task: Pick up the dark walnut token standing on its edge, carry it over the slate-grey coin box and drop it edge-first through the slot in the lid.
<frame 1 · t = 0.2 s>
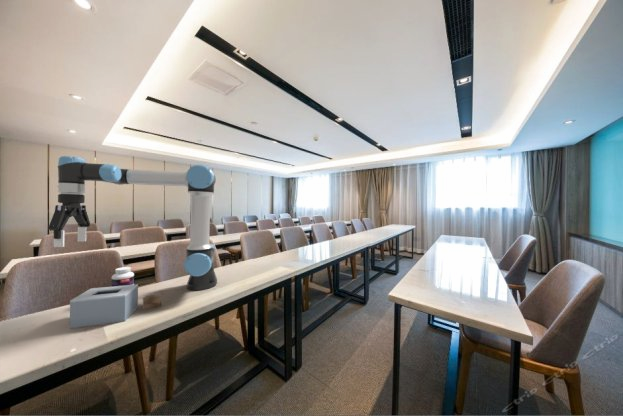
hand: (71, 244, 91), 28 cm above the table, fingers open, 13 cm apart
token: (152, 307, 94), on the table
pill bottle: (122, 299, 102), on the table
coin box: (107, 316, 85), on the table
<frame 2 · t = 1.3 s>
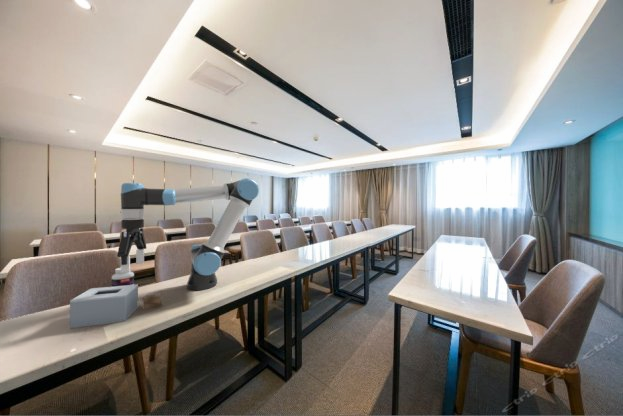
hand: (133, 267, 93), 17 cm above the table, fingers open, 13 cm apart
nothing on the table moved.
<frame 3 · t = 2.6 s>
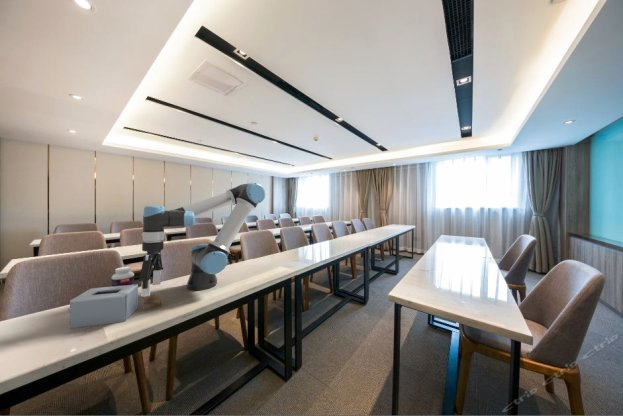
hand: (151, 289, 94), 8 cm above the table, fingers open, 13 cm apart
nothing on the table moved.
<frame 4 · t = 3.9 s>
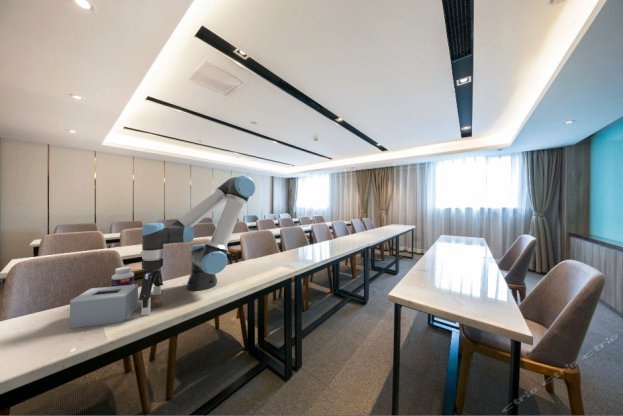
hand: (151, 307, 94), 0 cm above the table, fingers open, 13 cm apart
nothing on the table moved.
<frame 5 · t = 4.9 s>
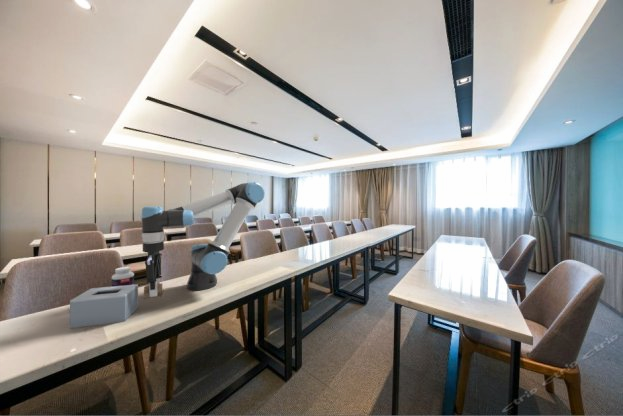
hand: (154, 294, 95), 5 cm above the table, fingers closed on token, 2 cm apart
token: (153, 296, 94), point 5 cm above the table, touching gripper
everything else where it was.
when the fingers open (11 cm above the table, at t = 6.8 s): token drops 10 cm, resting on coin box.
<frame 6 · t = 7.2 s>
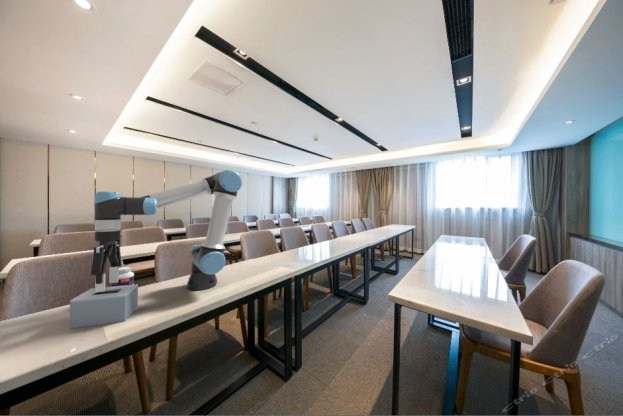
hand: (107, 286, 85), 12 cm above the table, fingers open, 9 cm apart
token: (105, 314, 85), point 1 cm above the table, touching coin box
everything else where it was.
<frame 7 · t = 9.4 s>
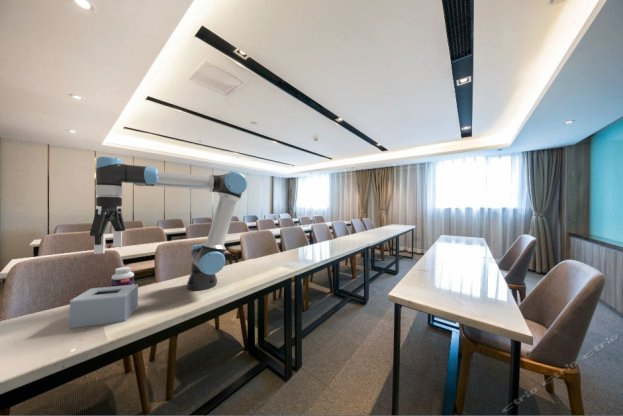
hand: (109, 249, 86), 27 cm above the table, fingers open, 13 cm apart
nothing on the table moved.
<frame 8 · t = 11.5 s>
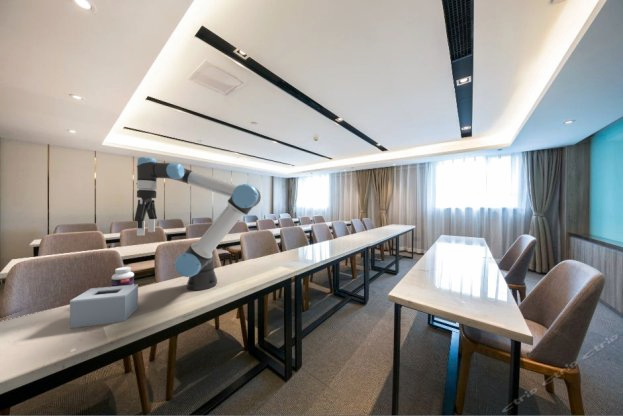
hand: (146, 233, 105), 31 cm above the table, fingers open, 13 cm apart
nothing on the table moved.
at the end: token inside the target area on the coin box (0.5 cm from its centre), point 0.8 cm above the coin box's base; the gripper is holding nothing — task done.
